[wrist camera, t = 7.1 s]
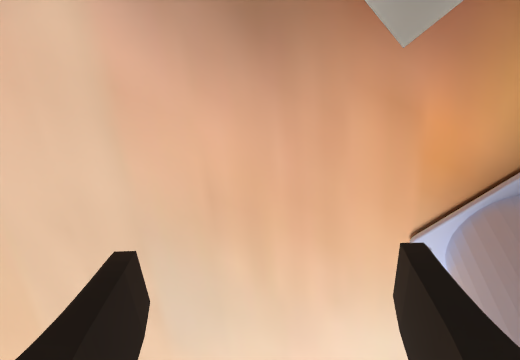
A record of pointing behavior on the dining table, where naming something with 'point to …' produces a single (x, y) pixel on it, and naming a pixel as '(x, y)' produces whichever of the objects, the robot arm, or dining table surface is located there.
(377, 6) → the block
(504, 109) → the dining table surface
